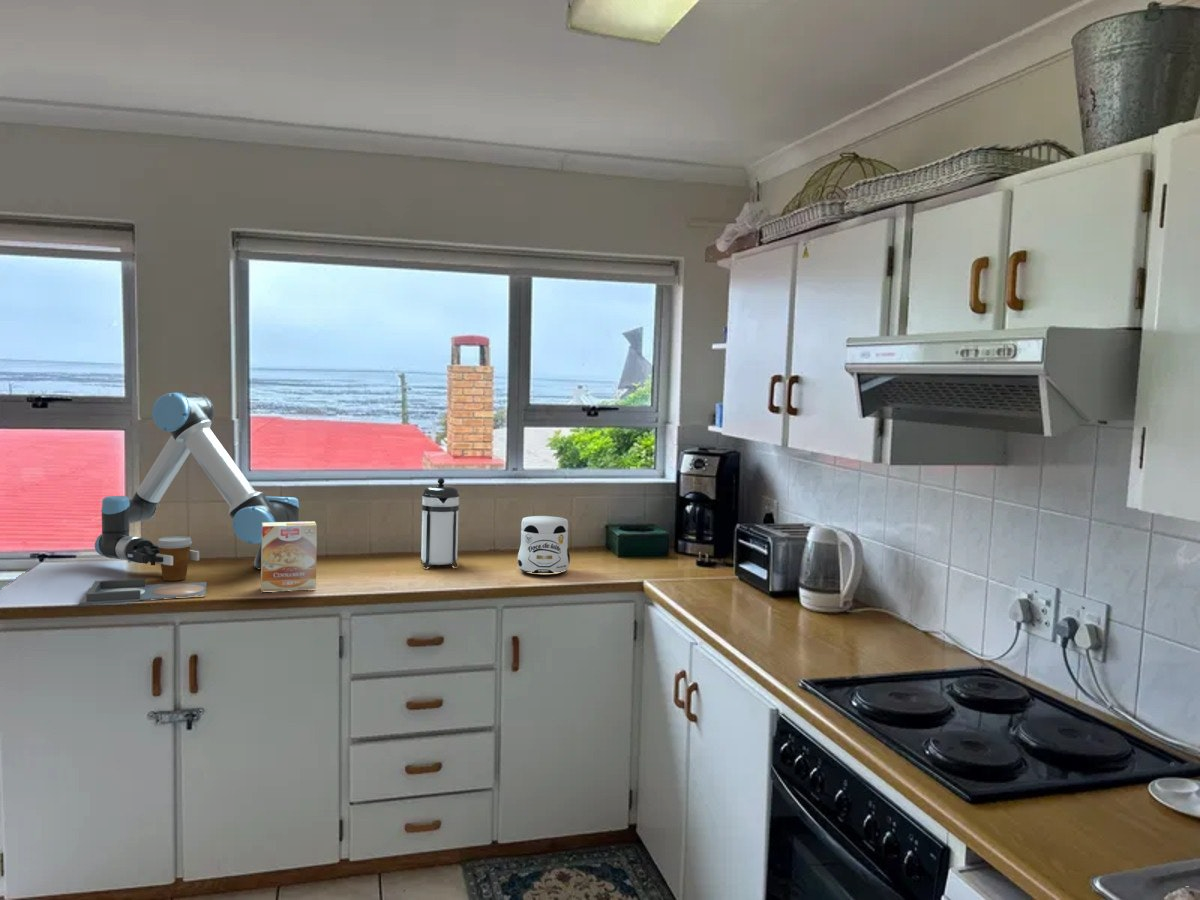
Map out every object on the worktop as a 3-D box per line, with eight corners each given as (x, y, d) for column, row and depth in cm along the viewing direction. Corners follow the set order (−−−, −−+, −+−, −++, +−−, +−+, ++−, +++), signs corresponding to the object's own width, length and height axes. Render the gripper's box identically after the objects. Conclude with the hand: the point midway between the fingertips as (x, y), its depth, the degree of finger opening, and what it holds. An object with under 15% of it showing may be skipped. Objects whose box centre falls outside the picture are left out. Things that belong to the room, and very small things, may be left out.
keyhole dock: (206, 583, 251) (206, 575, 251) (205, 597, 235) (205, 588, 235) (89, 590, 239) (89, 580, 239) (79, 604, 223) (79, 594, 223)
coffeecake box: (261, 593, 242) (262, 525, 241) (260, 588, 248) (261, 521, 247) (316, 590, 248) (317, 524, 247) (314, 585, 255) (315, 520, 253)
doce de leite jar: (538, 580, 271) (540, 525, 269) (506, 571, 284) (508, 517, 282) (579, 574, 282) (581, 520, 281) (547, 565, 295) (549, 514, 294)
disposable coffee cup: (177, 583, 250) (177, 542, 249) (149, 580, 251) (149, 540, 251) (199, 576, 259) (199, 537, 258) (171, 573, 261) (171, 535, 260)
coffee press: (472, 565, 291) (474, 478, 289) (440, 572, 277) (442, 481, 275) (435, 558, 300) (437, 473, 298) (402, 565, 287) (403, 476, 285)
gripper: (166, 556, 272) (215, 564, 262) (102, 567, 254) (153, 577, 243) (166, 533, 272) (215, 540, 262) (102, 542, 253) (152, 551, 243)
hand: (185, 558), depth 253 cm, fingers closed on disposable coffee cup, 8 cm apart
